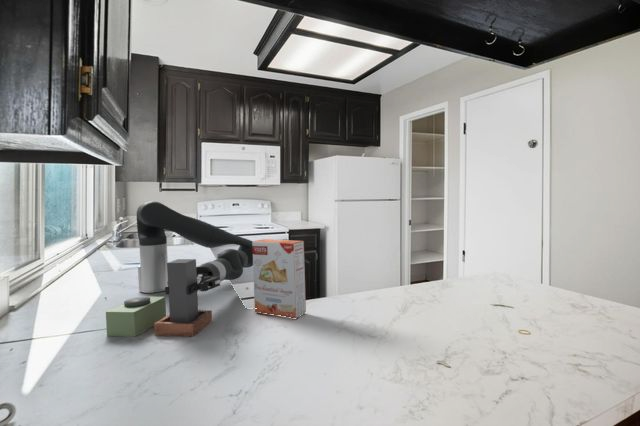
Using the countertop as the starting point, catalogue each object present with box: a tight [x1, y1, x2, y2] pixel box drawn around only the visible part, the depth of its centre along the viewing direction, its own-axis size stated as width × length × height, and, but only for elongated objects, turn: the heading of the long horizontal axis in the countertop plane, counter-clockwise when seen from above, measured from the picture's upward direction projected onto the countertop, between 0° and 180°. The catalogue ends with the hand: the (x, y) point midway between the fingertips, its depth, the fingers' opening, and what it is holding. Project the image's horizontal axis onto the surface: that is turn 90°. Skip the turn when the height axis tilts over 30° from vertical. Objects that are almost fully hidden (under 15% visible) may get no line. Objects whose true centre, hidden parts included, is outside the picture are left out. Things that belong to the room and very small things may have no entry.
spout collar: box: [153, 309, 213, 337], centre depth 86 cm, size 10×10×3 cm
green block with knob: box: [105, 296, 167, 338], centre depth 89 cm, size 8×13×7 cm, turn 172°
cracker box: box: [252, 238, 307, 319], centre depth 95 cm, size 14×6×21 cm, turn 62°
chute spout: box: [167, 258, 199, 322], centre depth 86 cm, size 5×5×16 cm
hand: (177, 290), depth 83 cm, fingers closed on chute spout, 5 cm apart
